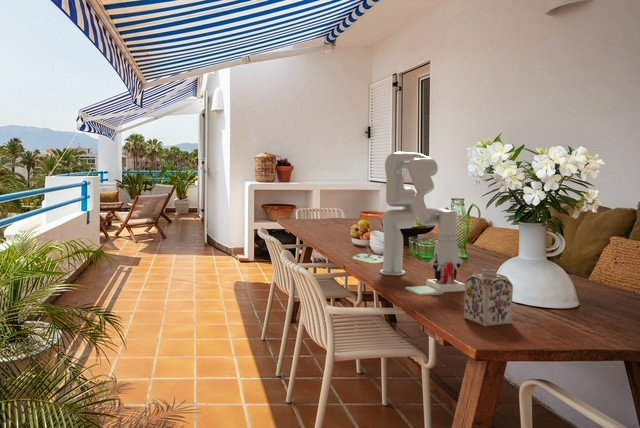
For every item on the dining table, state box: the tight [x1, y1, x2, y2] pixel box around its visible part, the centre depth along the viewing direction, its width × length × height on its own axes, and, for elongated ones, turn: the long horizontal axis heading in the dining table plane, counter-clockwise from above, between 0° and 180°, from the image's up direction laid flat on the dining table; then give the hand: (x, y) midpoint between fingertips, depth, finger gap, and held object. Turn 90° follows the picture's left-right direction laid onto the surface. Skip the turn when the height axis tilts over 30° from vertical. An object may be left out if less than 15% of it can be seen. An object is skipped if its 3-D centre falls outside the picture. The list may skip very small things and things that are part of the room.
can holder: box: [425, 278, 465, 293], centre depth 241 cm, size 12×12×3 cm
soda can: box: [437, 262, 455, 284], centre depth 241 cm, size 7×7×12 cm
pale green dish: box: [352, 244, 383, 264], centre depth 315 cm, size 25×21×9 cm
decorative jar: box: [463, 268, 514, 327], centre depth 190 cm, size 12×12×18 cm
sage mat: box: [404, 285, 444, 296], centre depth 235 cm, size 13×11×1 cm
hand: (445, 278), depth 241 cm, fingers closed on soda can, 7 cm apart
